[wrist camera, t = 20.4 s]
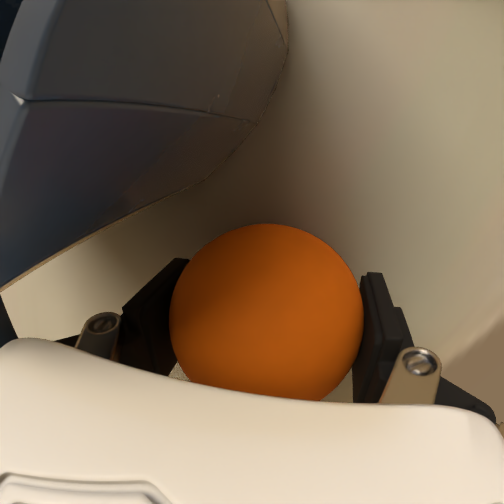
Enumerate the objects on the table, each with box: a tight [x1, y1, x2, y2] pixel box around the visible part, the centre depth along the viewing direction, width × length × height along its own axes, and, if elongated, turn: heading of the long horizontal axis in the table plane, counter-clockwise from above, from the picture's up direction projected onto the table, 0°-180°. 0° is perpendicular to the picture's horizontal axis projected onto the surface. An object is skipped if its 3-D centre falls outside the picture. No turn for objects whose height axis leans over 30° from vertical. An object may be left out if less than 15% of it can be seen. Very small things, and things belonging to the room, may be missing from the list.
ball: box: [169, 224, 364, 401], centre depth 10 cm, size 6×6×6 cm
